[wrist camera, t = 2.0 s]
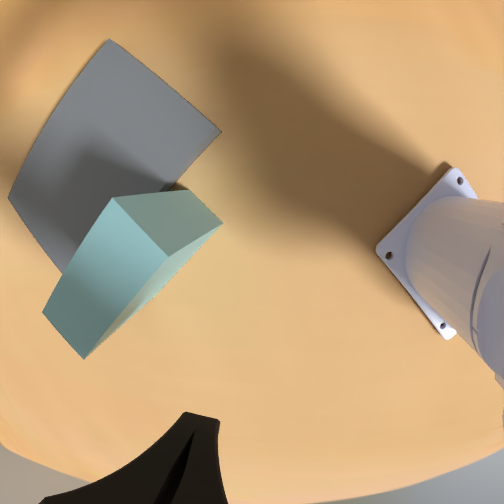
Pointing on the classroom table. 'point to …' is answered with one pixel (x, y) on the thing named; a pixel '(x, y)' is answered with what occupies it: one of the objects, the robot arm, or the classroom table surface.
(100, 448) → the classroom table surface
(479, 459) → the classroom table surface
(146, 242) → the teal slab
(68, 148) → the rubber pad
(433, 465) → the classroom table surface
